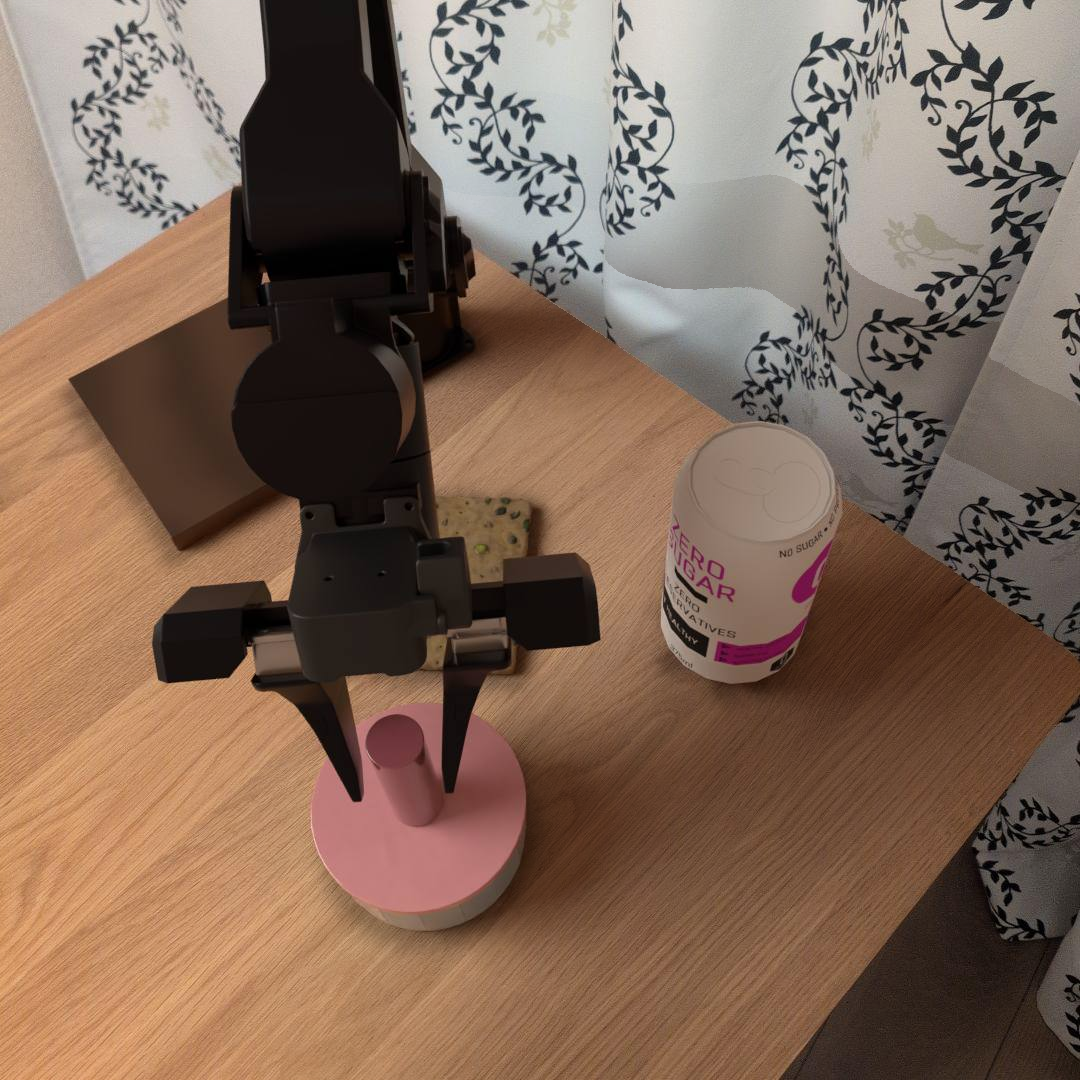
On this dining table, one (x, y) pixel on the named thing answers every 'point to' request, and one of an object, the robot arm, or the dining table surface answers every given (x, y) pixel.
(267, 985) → the dining table surface
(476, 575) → the cookie
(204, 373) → the board
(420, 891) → the lid
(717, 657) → the supplement can
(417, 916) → the bowl
